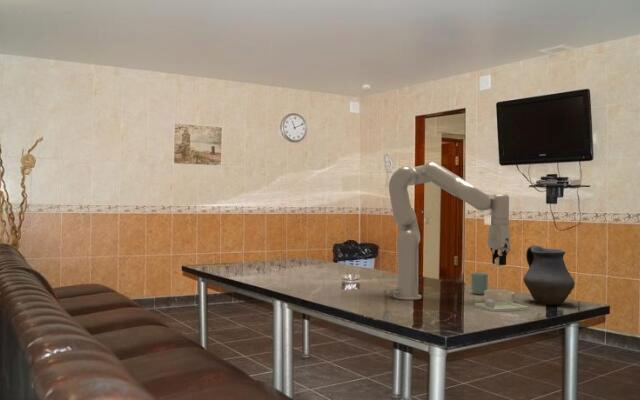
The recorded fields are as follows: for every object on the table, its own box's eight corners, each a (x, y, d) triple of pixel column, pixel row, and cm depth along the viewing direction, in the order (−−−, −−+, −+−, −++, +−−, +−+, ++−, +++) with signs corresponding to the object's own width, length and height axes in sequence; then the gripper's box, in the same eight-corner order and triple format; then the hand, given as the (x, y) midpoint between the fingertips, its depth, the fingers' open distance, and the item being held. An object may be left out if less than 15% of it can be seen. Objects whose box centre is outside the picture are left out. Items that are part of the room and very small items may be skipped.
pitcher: (551, 309, 221) (552, 249, 221) (510, 301, 240) (511, 245, 240) (584, 306, 230) (584, 247, 230) (542, 297, 249) (543, 244, 250)
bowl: (496, 305, 228) (496, 295, 228) (478, 300, 240) (478, 290, 240) (520, 304, 232) (520, 293, 232) (501, 299, 244) (501, 289, 244)
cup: (488, 295, 253) (488, 274, 253) (471, 295, 255) (471, 274, 255) (486, 293, 261) (487, 272, 261) (470, 292, 262) (470, 272, 262)
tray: (493, 313, 212) (493, 309, 212) (474, 307, 224) (474, 303, 224) (529, 310, 218) (529, 306, 218) (508, 305, 230) (508, 301, 230)
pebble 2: (498, 266, 231) (498, 257, 231) (492, 265, 235) (492, 256, 235) (506, 266, 233) (506, 257, 233) (500, 265, 236) (500, 256, 236)
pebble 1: (489, 309, 216) (489, 299, 217) (483, 307, 220) (483, 298, 220) (497, 309, 218) (497, 299, 218) (491, 307, 222) (491, 297, 222)
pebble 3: (498, 301, 235) (499, 292, 235) (492, 299, 239) (493, 290, 238) (506, 301, 236) (507, 292, 236) (500, 299, 240) (501, 290, 240)
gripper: (480, 221, 241) (480, 262, 241) (504, 223, 225) (504, 266, 225) (495, 221, 243) (494, 262, 243) (519, 223, 227) (519, 266, 227)
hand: (499, 263), depth 234 cm, fingers closed on pebble 2, 4 cm apart
